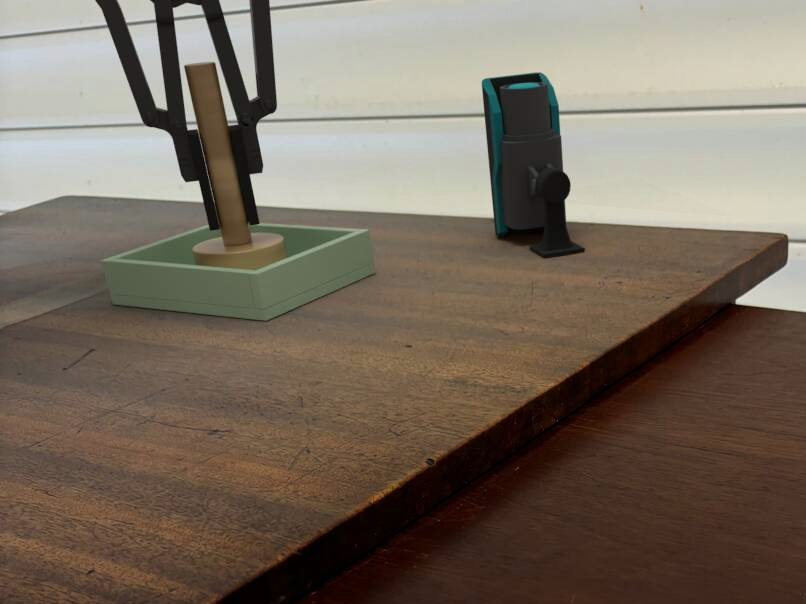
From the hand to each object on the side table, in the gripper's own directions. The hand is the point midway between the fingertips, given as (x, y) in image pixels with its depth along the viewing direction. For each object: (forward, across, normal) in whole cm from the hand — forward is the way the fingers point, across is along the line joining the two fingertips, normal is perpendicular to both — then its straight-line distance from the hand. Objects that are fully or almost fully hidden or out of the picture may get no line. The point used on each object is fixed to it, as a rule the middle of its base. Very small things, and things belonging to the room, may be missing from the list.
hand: (233, 223), depth 90 cm
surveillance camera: (+5, +25, +2) cm, 26 cm away
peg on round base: (+4, 0, -1) cm, 4 cm away
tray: (+5, 0, 0) cm, 5 cm away
